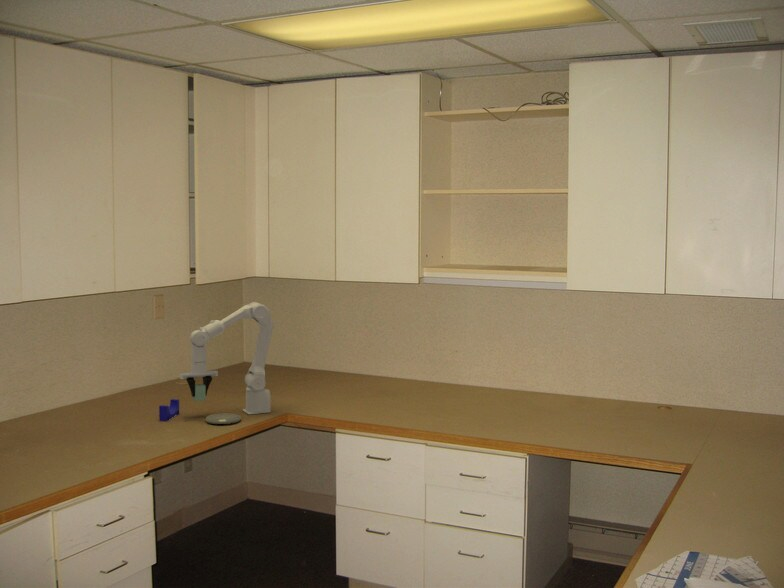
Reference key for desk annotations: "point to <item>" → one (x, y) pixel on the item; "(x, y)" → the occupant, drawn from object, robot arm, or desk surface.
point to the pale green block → (200, 392)
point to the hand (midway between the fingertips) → (199, 395)
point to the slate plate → (223, 418)
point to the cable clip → (169, 410)
